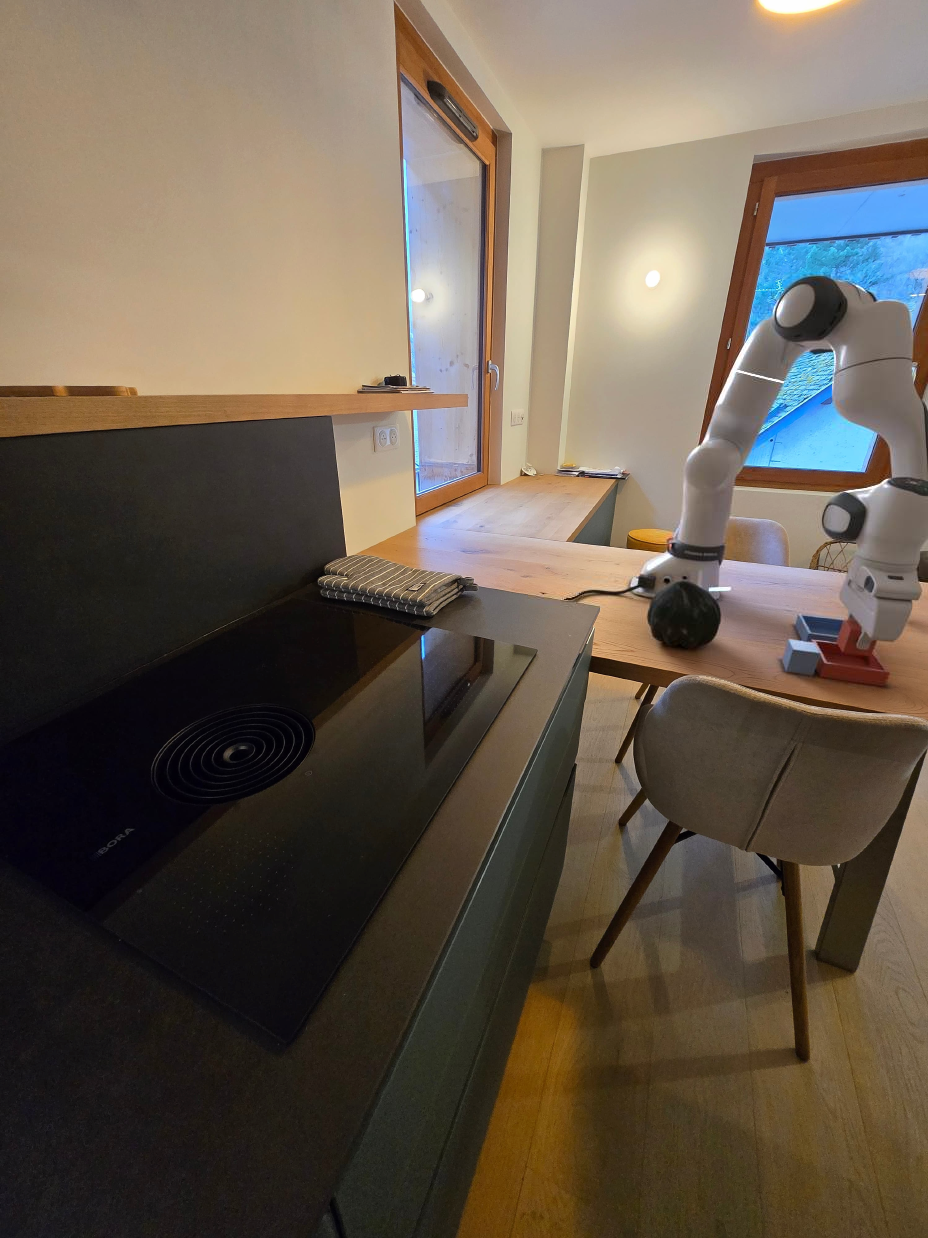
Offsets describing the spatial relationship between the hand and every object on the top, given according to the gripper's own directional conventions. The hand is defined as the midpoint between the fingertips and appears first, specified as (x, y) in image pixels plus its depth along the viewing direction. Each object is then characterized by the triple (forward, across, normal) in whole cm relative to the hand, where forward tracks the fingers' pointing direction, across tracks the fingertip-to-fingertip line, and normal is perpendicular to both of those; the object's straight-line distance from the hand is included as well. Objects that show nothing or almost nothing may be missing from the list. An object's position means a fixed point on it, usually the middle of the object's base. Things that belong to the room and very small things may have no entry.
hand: (855, 640), depth 94 cm
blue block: (+6, +3, -9) cm, 11 cm away
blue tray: (+6, -13, 0) cm, 14 cm away
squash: (+6, -2, -30) cm, 31 cm away
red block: (+2, 0, 0) cm, 2 cm away
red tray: (+6, 0, 0) cm, 6 cm away
